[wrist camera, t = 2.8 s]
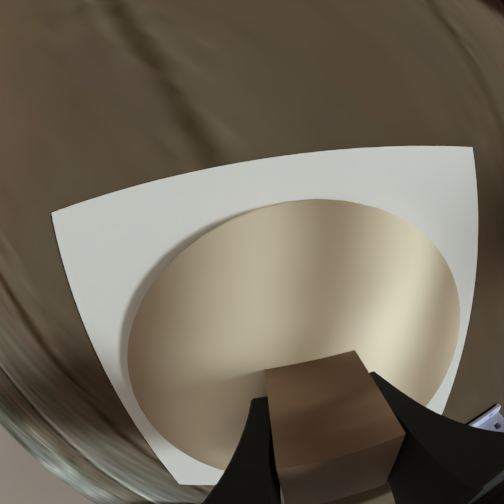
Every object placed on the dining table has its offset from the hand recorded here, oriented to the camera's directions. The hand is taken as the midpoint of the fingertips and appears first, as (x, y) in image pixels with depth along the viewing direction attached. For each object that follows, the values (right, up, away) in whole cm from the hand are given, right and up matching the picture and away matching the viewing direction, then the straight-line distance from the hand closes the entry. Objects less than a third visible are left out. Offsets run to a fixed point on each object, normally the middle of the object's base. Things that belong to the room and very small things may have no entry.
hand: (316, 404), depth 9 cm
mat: (0, +1, +2) cm, 2 cm away
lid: (0, 0, +1) cm, 2 cm away
